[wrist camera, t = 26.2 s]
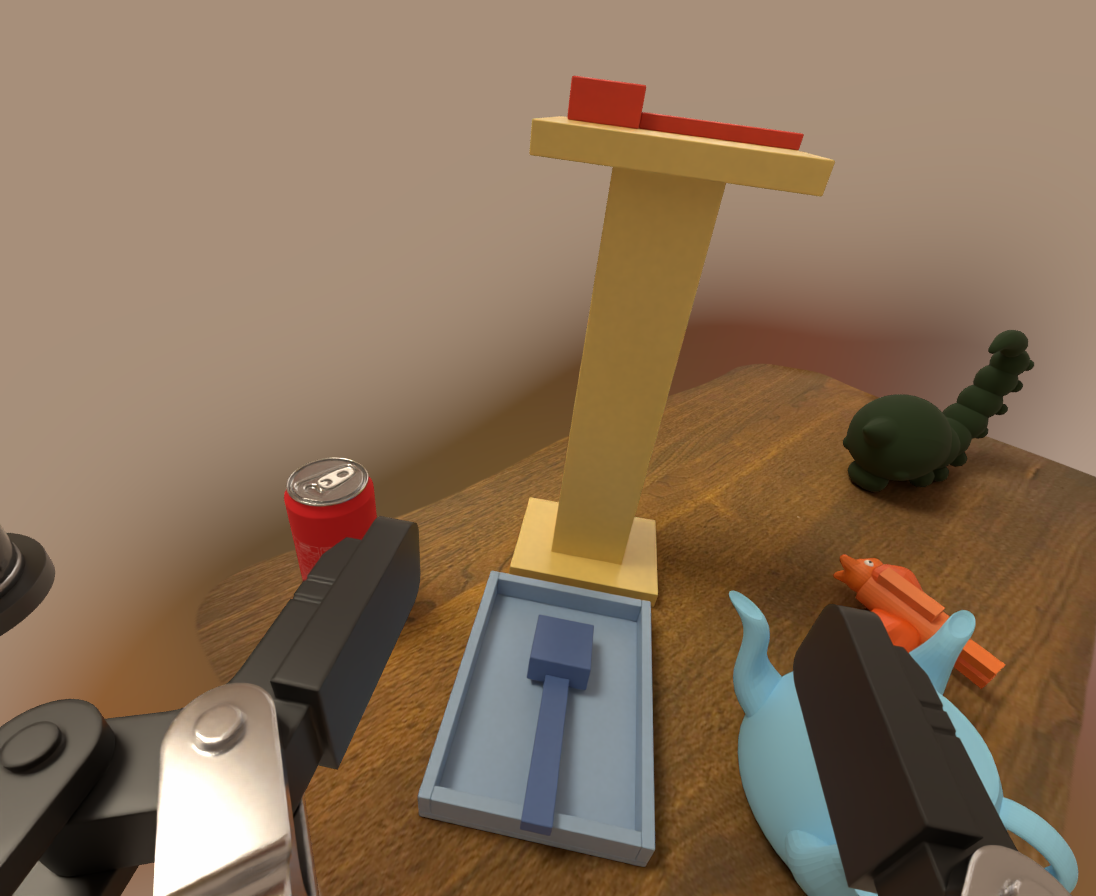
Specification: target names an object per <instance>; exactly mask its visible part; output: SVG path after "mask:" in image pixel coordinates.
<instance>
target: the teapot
mask: <svg viewBox="0 0 1096 896" xmlns="http://www.w3.org/2000/svg"><path fill="white" fill-rule="evenodd" d="M729 597H730V599H731V601H732V603H733V605H734V607H735V608H736V610H737V612H738V614H739V615H740V617H741V620H742V623H743V628H744V635H743V641H742V644H741V648H740V651H739V653H738V656H737V660H736V663H735V667H734V674H733V682H734V690H735V693H736V696H737V699H738V701H739V703H740V705H741V707H742V709H743V710H744V712H745V716H744V719H743V722H742V724H741V727H740V733H739V738H738V760H739V770H740V775H741V780H742V784H743V788H744V791H745V794H746V797H747V800H748V803H749V805H750V807H751V809H752V812H753V814H754V816H755V818H756V820H757V822H758V824H759V826H760V827H761V829H762V831H763V833H764V835H765V836H766V838H767V839H768V841H769V842H770V844H771V845H772V847H773V848H774V850H775V851H776V853H777V854H778V855H779V856H780V858H781V859H782V860H783V861H784V862H785V864H786V865H787V866H788V867H789V869H790V870H791V872H792V874H793V876H794V878H795V880H796V882H797V883H798V884H799V886H800V887H801V888H802V890H803V891H804V892H805V893H806V894H807V895H808V896H878V894H876V893H871V892H867V891H862V890H858V889H854V888H849V887H848V884H847V881H846V877H845V873H844V869H843V866H842V862H841V858H840V854H839V850H838V847H837V843H836V839H835V835H834V832H833V828H832V824H831V820H830V817H829V813H828V809H827V805H826V801H825V798H824V794H823V790H822V786H821V783H820V779H819V775H818V771H817V768H816V764H815V760H814V756H813V752H812V749H811V745H810V741H809V737H808V734H807V730H806V726H805V722H804V718H803V715H802V711H801V707H800V703H799V700H798V696H797V692H796V688H795V684H794V678H793V671H792V672H790V673H788V674H786V675H784V676H782V677H781V675H780V674H779V673H778V672H777V671H776V670H775V668H774V667H773V666H772V664H771V663H770V661H769V659H768V657H767V648H768V644H769V638H770V631H769V626H768V623H767V621H766V619H765V617H764V615H763V613H762V612H761V611H760V609H759V608H758V607H757V606H756V605H755V604H754V603H753V602H752V601H750V600H749V599H748V598H747V597H745V596H744V595H742V594H741V593H739V592H737V591H730V592H729ZM974 628H975V617H974V616H973V614H972V613H971V612H969V611H966V610H961V611H958V612H956V613H954V614H953V615H951V616H950V617H949V618H948V619H947V621H946V622H945V623H944V624H943V625H942V627H941V628H940V629H939V630H938V631H937V632H936V633H935V634H934V635H933V636H932V637H931V638H930V639H928V640H927V641H926V642H925V643H923V644H922V645H920V646H919V647H917V648H916V649H914V650H912V651H911V652H909V654H910V655H911V656H912V658H913V659H914V660H915V661H916V662H917V663H918V664H919V666H920V667H921V668H922V669H923V670H924V671H925V672H926V673H927V675H928V676H929V678H930V680H931V682H932V684H933V686H934V688H935V690H936V692H937V694H938V696H939V698H940V700H941V702H942V704H943V711H945V712H947V714H948V716H949V718H950V720H951V722H952V724H953V726H954V728H955V730H956V733H955V734H956V737H958V738H960V739H961V741H962V743H963V745H964V747H965V749H966V751H967V753H968V755H969V757H970V759H971V761H972V763H973V765H974V767H975V769H976V771H977V773H978V775H979V777H980V779H981V781H982V783H983V785H984V787H985V789H986V791H987V793H988V795H989V797H990V799H991V801H992V803H993V805H994V807H995V809H996V811H997V813H998V815H999V817H1000V819H1001V821H1002V823H1003V825H1004V826H1005V828H1006V830H1007V829H1008V830H1010V831H1011V832H1013V833H1015V834H1016V835H1018V836H1019V837H1021V838H1022V839H1024V840H1025V841H1027V842H1028V843H1029V844H1031V845H1032V846H1033V847H1034V848H1035V849H1037V850H1038V851H1039V852H1040V853H1041V854H1042V855H1043V856H1044V857H1045V858H1046V859H1047V861H1048V862H1049V863H1050V864H1051V866H1049V867H1046V868H1044V869H1045V870H1046V871H1048V872H1049V873H1050V874H1051V875H1052V876H1053V877H1054V878H1056V879H1057V880H1058V881H1059V882H1060V883H1061V884H1062V885H1063V886H1064V888H1065V889H1066V890H1067V891H1068V892H1069V893H1071V891H1072V890H1073V889H1074V887H1075V885H1076V883H1077V880H1078V867H1077V862H1076V859H1075V857H1074V855H1073V852H1072V851H1071V849H1070V848H1069V846H1068V844H1067V843H1066V842H1065V840H1064V839H1063V838H1062V837H1061V836H1060V834H1059V833H1058V832H1057V831H1056V830H1055V829H1054V828H1053V827H1052V826H1051V825H1050V824H1048V823H1047V822H1046V821H1045V820H1044V819H1042V818H1041V817H1040V816H1038V815H1037V814H1036V813H1034V812H1032V811H1031V810H1029V809H1027V808H1026V807H1024V806H1022V805H1020V804H1018V803H1016V802H1015V801H1013V800H1010V799H1007V798H1003V791H1002V786H1001V782H1000V778H999V775H998V772H997V768H996V765H995V763H994V760H993V757H992V755H991V753H990V751H989V749H988V747H987V745H986V744H985V742H984V740H983V739H982V737H981V736H980V734H979V733H978V732H977V730H976V729H975V728H974V726H973V725H972V724H971V723H970V722H969V720H968V719H967V718H966V717H965V716H964V715H963V714H962V713H961V712H960V711H959V710H958V709H957V708H956V707H955V706H954V705H953V704H952V703H951V702H950V701H949V700H947V699H946V698H945V697H944V696H942V695H943V693H944V690H945V688H946V685H947V682H948V679H949V677H950V674H951V671H952V669H953V667H954V664H955V662H956V660H957V658H958V656H959V654H960V653H961V651H962V649H963V648H964V646H965V645H966V643H967V642H968V640H969V639H970V637H971V635H972V633H973V631H974Z"/></svg>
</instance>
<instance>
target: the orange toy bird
mask: <svg viewBox="0 0 1096 896" xmlns="http://www.w3.org/2000/svg"><path fill="white" fill-rule="evenodd" d="M840 562H841V564H842V566H843V568H844V570H842V571H837V572H836V573H835V574H833V575H834V578H836V579H838V580H840V581H841V582H843V583H845V584H847V586H848V587H849V588H850V589H852V590H853V591H855V592H857V595H856V599H857V600H858V601H859V602H860V603H862V604H863V605H864V606H865V607H866V608H867V609H869V610H870V611H871V612H874V613H876V614H877V615H878V616H879V617H880V618H881V620H882V622H883V624H884V626H885V628H886V631H887V633H888V635H889V637H890V639H891V641H892V643H893V645H895V646H900V647H904V649H905V650H906V651H907V652H908V653H909V652H911V651H912V650H914V649H916V648H917V647H919V646H920V645H922V644H923V643H925V642H926V641H927V640H928V639H930V638H931V637H932V636H933V635H934V634H935V633H936V632H937V631H938V630H939V629H940V628H941V627H942V625H943V624H944V623H945V622H946V621H947V619H948V618H949V617H950V616H948V615H947V614H945V613H944V612H943V610H944V609H945V608H944V607H943V606H942V605H940V604H939V603H938V602H936V601H935V600H933V599H932V598H931V597H929V596H928V595H927V594H925V593H924V592H923V590H922V588H921V586H920V584H919V582H918V580H917V578H916V577H915V575H914V574H913V573H912V572H911V570H908V569H906V568H904V567H899V566H894V565H889V564H887V565H883V563H882V562H881V561H880V560H878V559H876V558H868V559H857V560H855V559H853V558H851V557H849V556H847V555H845V554H844V555H841V556H840ZM1004 666H1005V664H1004V663H1002V662H1001V661H1000V660H998V659H997V658H995V657H994V656H993V655H991V654H990V653H989V652H987V651H986V650H985V649H983V648H982V647H981V646H979V645H978V644H977V643H975V642H974V641H973V640H971V639H969V640H968V642H967V643H966V645H965V646H964V648H963V649H962V651H961V653H960V654H959V656H958V658H957V660H956V662H955V664H954V668H956V669H957V670H958V671H959V672H961V673H962V674H963V675H964V676H966V677H967V678H968V679H970V680H971V681H972V682H973V683H975V684H976V685H977V686H978V687H980V688H981V689H982V688H983V687H984V686H986V685H987V684H988V683H989V682H990V681H991V680H992V679H993V678H994V677H995V676H996V674H997V673H998V672H999V671H1000V670H1001V669H1002V668H1003V667H1004Z"/></svg>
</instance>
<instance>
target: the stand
mask: <svg viewBox="0 0 1096 896" xmlns="http://www.w3.org/2000/svg"><path fill="white" fill-rule="evenodd" d="M530 155H534V156H541V157H548V158H555V159H562V160H569V161H576V162H583V163H590V164H597V165H604V166H611V167H613V169H612V176H611V181H610V188H609V194H608V201H607V206H606V212H605V218H604V225H603V231H602V237H601V243H600V250H599V256H598V262H597V269H596V274H595V281H594V287H593V293H592V299H591V305H590V312H589V318H588V324H587V331H586V337H585V343H584V349H583V355H582V362H581V368H580V374H579V381H578V386H577V393H576V399H575V405H574V411H573V418H572V424H571V430H570V436H569V442H568V448H567V455H566V461H565V467H564V473H563V480H562V486H561V492H560V498H559V503H558V502H552V501H547V500H542V499H536V498H531V497H530V498H529V502H528V505H527V509H526V512H525V516H524V519H523V523H522V526H521V530H520V533H519V537H518V540H517V544H516V547H515V550H514V554H513V557H512V561H511V564H510V571H509V574H512V575H517V576H522V577H527V578H532V579H537V580H542V581H547V582H553V583H558V584H563V585H568V586H573V587H578V588H583V589H588V590H593V591H599V592H604V593H609V594H614V595H619V596H624V597H629V598H634V599H640V600H641V601H642V600H645V601H650V602H651V607H654V605H655V602H656V599H657V596H658V581H657V551H656V521H655V520H650V519H644V518H639V517H635V514H636V510H637V506H638V503H639V499H640V496H641V492H642V488H643V485H644V481H645V477H646V474H647V470H648V466H649V463H650V459H651V455H652V452H653V448H654V444H655V441H656V437H657V434H658V430H659V426H660V423H661V419H662V415H663V412H664V408H665V404H666V401H667V397H668V393H669V390H670V386H671V382H672V378H673V375H674V371H675V368H676V364H677V361H678V357H679V353H680V349H681V345H682V342H683V338H684V335H685V331H686V328H687V324H688V320H689V317H690V313H691V309H692V306H693V302H694V299H695V295H696V291H697V288H698V284H699V280H700V277H701V273H702V269H703V265H704V262H705V258H706V255H707V251H708V247H709V244H710V240H711V237H712V233H713V229H714V225H715V222H716V218H717V215H718V211H719V207H720V203H721V200H722V196H723V193H724V189H725V185H726V183H731V184H737V185H745V186H751V187H758V188H765V189H773V190H779V191H787V192H793V193H801V194H807V195H814V196H822V195H823V193H824V190H825V187H826V185H827V182H828V180H829V177H830V174H831V171H832V169H833V166H834V164H835V161H834V160H832V159H828V158H824V157H820V156H816V155H812V154H809V153H805V152H801V151H798V150H791V149H784V148H776V147H769V146H762V145H755V144H747V143H740V142H733V141H725V140H718V139H711V138H704V137H696V136H689V135H682V134H675V133H667V132H660V131H653V130H645V129H640V128H638V129H633V128H626V127H619V126H611V125H604V124H597V123H590V122H582V121H575V120H569V119H568V118H567V117H562V116H560V117H548V118H536V119H532V129H531V140H530Z"/></svg>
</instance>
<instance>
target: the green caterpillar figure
mask: <svg viewBox="0 0 1096 896" xmlns="http://www.w3.org/2000/svg"><path fill="white" fill-rule="evenodd" d="M1027 347H1028V339H1027V337H1026V336H1025V334H1024V333H1022V332H1021V331H1016V330H1007V331H1005V332H1002V333H1000V334H999V335H998V336H997V337H996V338H995V339H994V341H993V342H992V344H991V345H990V347H989V350H988V351H989V353H992V354H993V356H992V357H991V359H990V364H989V365H988V366H985V367H983V368H982V369H980V370H979V372H978V373H977V374H976V376H975V378H974V381H973V383H974V385H971V386H969V387H967V388H965V389H964V390H963V391H962V392H961V393H960V394H959V396H958V399H957V403H955V404H952V405H950V406H948V407H947V408H946V409H945V410H944V411H943V412H941V411H940V410H939V409H938V408H937V407H936V406H935V405H933V404H932V403H930V402H929V401H927V400H924V399H922V398H919V397H916V396H911V395H889V396H884V397H881V398H878V399H876V400H874V401H872V402H870V403H868V404H866V405H865V406H864V407H862V408H861V409H860V410H859V411H858V412H857V413H856V414H855V416H854V417H853V419H852V421H851V423H850V426H849V428H848V432H847V436H846V437H845V438H844V440H843V445H844V447H845V448H846V449H848V450H849V452H850V454H851V455H852V457H853V458H854V460H855V461H853V462H852V463H851V464H850V465H849V468H848V474H849V477H850V478H851V480H852V481H853V482H854V483H856V484H857V485H858V486H860V487H862V488H863V489H866V490H869V491H872V492H875V491H881V490H883V489H884V488H885V487H886V486H887V484H888V481H889V480H895V481H905V480H909V482H910V483H911V484H913V485H914V486H916V487H926V486H928V485H930V484H932V482H933V481H943V480H945V479H947V477H948V474H949V470H948V469H947V467H946V466H947V465H949V464H950V465H952V466H955V467H956V466H962V465H963V464H965V463H966V461H967V456H966V454H965V452H964V451H966V450H967V449H968V447H969V445H970V443H971V439H973V438H983V437H985V436H986V435H987V434H988V429H987V425H988V418H989V417H991V416H993V415H994V414H996V415H1002V414H1005V413H1006V412H1007V410H1008V407H1007V406H1006V405H1005V404H1003V396H1004V395H1007V394H1008V393H1010V392H1018V391H1020V390H1021V389H1022V387H1023V384H1022V383H1021V381H1019V380H1018V375H1019V374H1021V373H1023V372H1024V371H1028V370H1031V369H1032V368H1033V366H1034V362H1033V361H1032V360H1030V358H1029V355H1028V353H1027V352H1026V351H1025V350H1026V348H1027Z"/></svg>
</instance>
